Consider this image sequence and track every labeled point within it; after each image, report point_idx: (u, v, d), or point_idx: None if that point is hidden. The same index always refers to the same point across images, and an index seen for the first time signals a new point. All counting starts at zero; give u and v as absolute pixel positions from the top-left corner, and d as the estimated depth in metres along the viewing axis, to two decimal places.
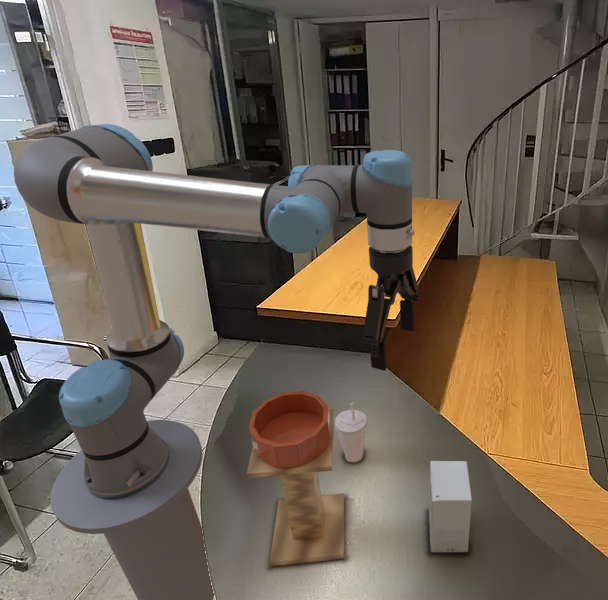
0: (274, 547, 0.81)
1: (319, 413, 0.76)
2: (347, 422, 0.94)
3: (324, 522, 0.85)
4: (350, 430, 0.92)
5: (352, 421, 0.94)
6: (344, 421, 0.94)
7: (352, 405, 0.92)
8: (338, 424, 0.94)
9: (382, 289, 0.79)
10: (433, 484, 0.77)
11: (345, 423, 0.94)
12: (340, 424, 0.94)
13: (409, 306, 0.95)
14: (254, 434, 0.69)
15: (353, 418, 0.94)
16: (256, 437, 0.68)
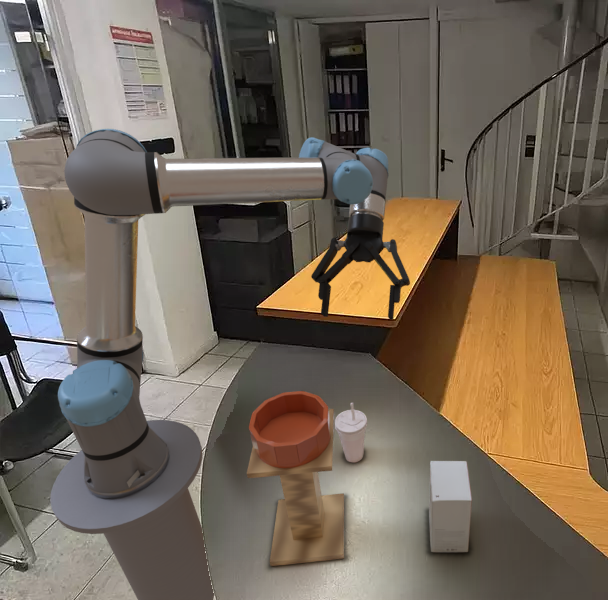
0: (274, 547, 0.81)
1: (319, 413, 0.76)
2: (347, 422, 0.94)
3: (324, 522, 0.85)
4: (350, 430, 0.92)
5: (352, 421, 0.94)
6: (344, 421, 0.94)
7: (352, 405, 0.92)
8: (338, 424, 0.94)
9: None
10: (432, 484, 0.77)
11: (345, 423, 0.94)
12: (340, 424, 0.94)
13: (330, 288, 1.00)
14: (254, 434, 0.69)
15: (353, 418, 0.94)
16: (256, 437, 0.68)
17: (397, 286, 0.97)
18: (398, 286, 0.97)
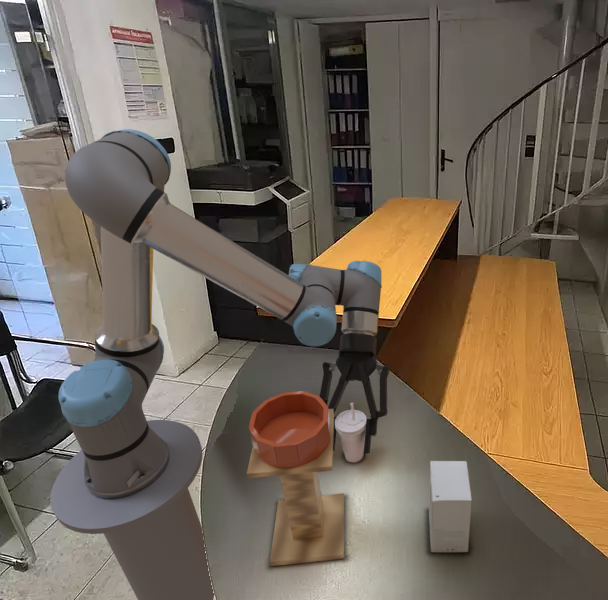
0: (274, 547, 0.81)
1: (319, 413, 0.76)
2: (347, 422, 0.94)
3: (324, 522, 0.85)
4: (350, 430, 0.92)
5: (352, 421, 0.94)
6: (344, 421, 0.94)
7: (352, 405, 0.92)
8: (338, 424, 0.94)
9: (388, 368, 0.99)
10: (432, 484, 0.77)
11: (345, 423, 0.94)
12: (340, 424, 0.94)
13: None
14: (254, 434, 0.69)
15: (353, 418, 0.94)
16: (256, 437, 0.68)
17: (372, 419, 0.94)
18: (373, 419, 0.94)
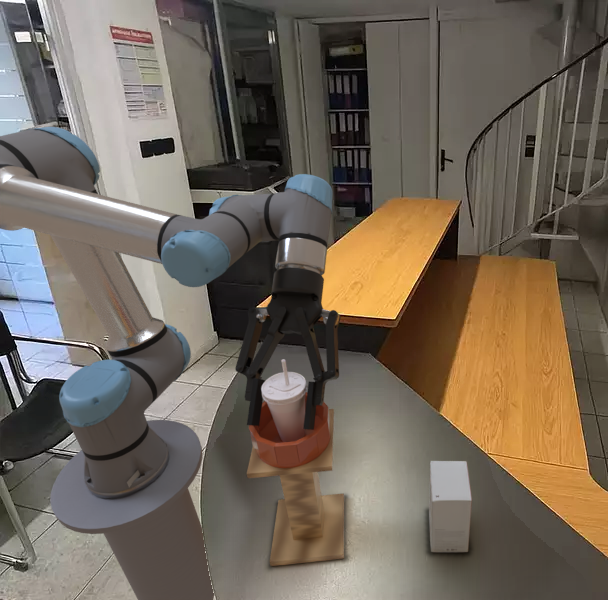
0: (274, 547, 0.81)
1: (319, 413, 0.76)
2: (278, 387, 0.68)
3: (324, 522, 0.85)
4: (281, 397, 0.66)
5: (285, 386, 0.68)
6: (274, 386, 0.68)
7: (283, 363, 0.67)
8: (266, 390, 0.68)
9: None
10: (432, 484, 0.77)
11: (275, 388, 0.68)
12: (268, 390, 0.68)
13: None
14: (254, 434, 0.69)
15: (286, 381, 0.68)
16: (256, 437, 0.68)
17: (317, 382, 0.69)
18: (318, 383, 0.69)
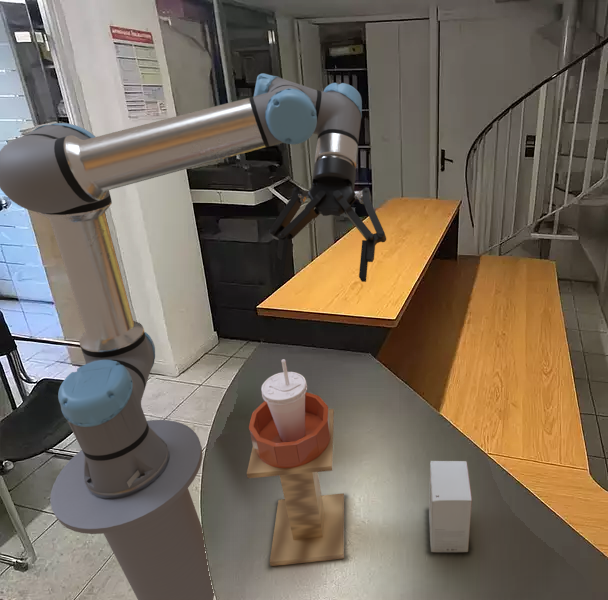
0: (274, 547, 0.81)
1: (319, 413, 0.76)
2: (278, 387, 0.68)
3: (324, 522, 0.85)
4: (281, 397, 0.66)
5: (285, 386, 0.68)
6: (274, 386, 0.68)
7: (283, 363, 0.67)
8: (266, 390, 0.68)
9: None
10: (433, 484, 0.77)
11: (275, 388, 0.68)
12: (268, 390, 0.68)
13: (291, 246, 0.85)
14: (254, 434, 0.69)
15: (286, 381, 0.68)
16: (256, 437, 0.68)
17: (370, 242, 0.82)
18: (372, 242, 0.82)
